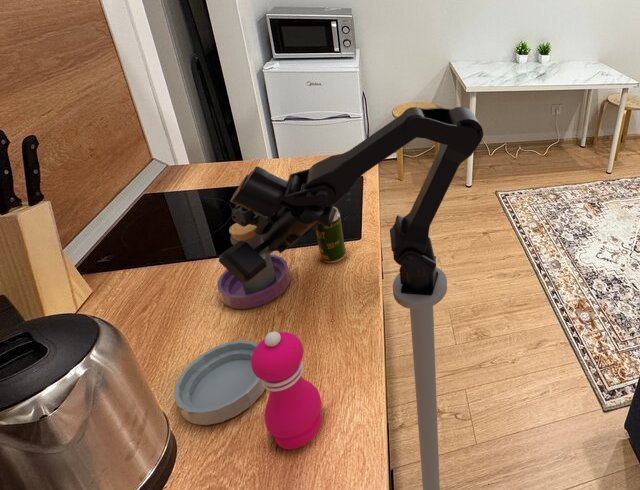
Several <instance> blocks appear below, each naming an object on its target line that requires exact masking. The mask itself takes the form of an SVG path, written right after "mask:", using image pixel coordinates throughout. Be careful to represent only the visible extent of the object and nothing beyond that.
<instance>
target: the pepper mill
mask: <svg viewBox="0 0 640 490" xmlns="http://www.w3.org/2000/svg"><path fill="white" fill-rule="evenodd" d="M304 352H305V351H304V345H303V342H302V341H301V340H300V338H299V336H297V335H296V334H294V333H292V332H288V331H279V332H278V331H271V332H268V333H267V334H266V336H265V337H264V338H263V339H262V340H261V341H259V342H258V345H257V346H256V348H255V349H254V351H253V354H252V358H251V367H252V370H253V372H254V374H255V375H256V377H258V378H260V379H261V381H262V385H263V387H264V388H265V390H267V391H268V392H269V396H268V399H267V401H266V404H265V408H264V415H263V417H264V424H265V428H266V430H267V431H268V432H269V434H271V436H273V438H274V440H275V442H276V444H277V446H279V447H280V448H281V449H284V450H287V451H288V450H297V449H299V448H302V447H304V446H305V445H307V444H308V443H309V442H311V441H312V440H313V439H314V438H315V436H316V435H317V434H318V433H319V431H320V428H321V427H322V412H321V408H322V397H321V394H320V392H319V390H318V389H317V387H316V386H315V385H314V384H313V383H312V382H311V381H308V380H307V379H305V378H304V377H303V376H302V374H303V372H304V363H303V358H304Z"/></svg>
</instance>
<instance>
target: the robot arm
mask: <svg viewBox="0 0 640 490" xmlns="http://www.w3.org/2000/svg"><path fill="white" fill-rule="evenodd" d="M418 138H419V139H427V140H429V141H431V142H435V143H439V144H438V151H437V153H436V155H435V158H434V160H433V162H432V164H431V166H430V168H429V171H428V173H427V174H426V176H425V179H424V182H422V185H421V188H420V190H419V192H418V194H417V197H416V199H415V201H414V203H413V205H412V207H411V209H410V211H409V213H408V214H406V215H405V216H401V215H396V217H395V221H394V224H393V225H392V227H391V228H390V229H389V236H390V247H391V252H392V255H393V260H394V262H395V263H396V264H397V265H398V266H400V267H399V273H400V282H401V284H403V285H402V288H401V293H405V294H417V295H429V296H431V295H432V294H433V292H434V288H435V285H436V281H437V278H438V272H436V267H437V256H436V255H435V253H434V252H435V251H434V248H433V244H432V240H431V239H432V238H431V237H430V236H429V234H430V228H431V227H430V226H431V225H432V223H433V220H434V219H435V217H436V214H437V212H438V210H439V208H440V206H441V204H442V202H443V200H444V198H445V196H446V195H447V191H448V190H449V188H450V185H451V184H452V181H453V180H454V177H455V175H456V173H457V171H458V169H459V167H460V165H461V164H462V163H463V162H465V161H466V160H467V159H469V158H470V157H471V156H472V155H473V154H474V152H475V151H476V149H477V148H479V146H480V144H481V142H482V141H483V138H484V130H483V127H482V125H481V123H480V122H479V120H478V119H477V117H476V115H475V113H473V111H472V110H471V109H470V108H468V107H465V106H457V107H454V108H447V107H428V108H427V107H426V108H423V107H417V106H412V107H409V108H405V110H404V111H403V112H402V114H400V115H399V116H397V117H396V118H394V119H393V120H391V121H390V122H389V123H387V124H385V125H384V126H383V127H381V128H380V129H378V130H377V131H375V132H374V133H372V134H371V135H370V136H367V138H365V139H364V140H362V141H361V142H359V143H358V144H357V145H355V146H354V147H352V148H351V149H349V150H347V151H345V152H343V153H339V154H335V155H330V156H328V157H326V158H324V159H322V160H320V161H318V162H315V163H313V165H311V166H310V167H309V168H307V169H303V170H300V171H297V172H293V173H291V174H289V176H288V179H287V180H285V179H283V178H281V177H280V176H277V175H275V174H273V173H271V172H270V171H269V172H268V171H267V170H266V169H265V168H263V167H260V166H255V167H254V168H253V170H251V171H250V172H249V173H248V174H246V175H245V176H244V177H243V179H242V181H241V182H240V184H239V185H238V187H237V188H236V190H235V191H234V193H233V195H232V197H231V199H230V201H229V202H230V203H231V204H234V205H235V207H234V208H232V209H231V212H232V213H231V220H232V221H233V222H235V223H238V224H239V225H241V226H242V227H245V226H247V225H249V224H251V225H254V226H257V228H256V229H255V230H254V232H255V233H256V234H257V235H262V239H263V241H264V242H263V243H262V244H261V245H259V246H258V247H257V248H255V249H253V248H252V247H251V246H250V245H249V244H248V243H247V242H245V241H241V240H240V241H239V242H238V243H236V244H235V245H233V244H232V245H231V246H230V247H229V248H228V249H226V250H225V251H222V253H221V254H220V255H219V256H218V262H219V264H221V265H222V266H223V267H224V268H225V270H226V269H227V270H228V271H229V272H230V273H231V274H232V275H233V276H235V277H236V278H237V279H238V280H239V281H240V282H241V283H247V282H248V281H250V280H251V279H252V278H253V277H255V276H256V275H257V274H258V273H259V272H261V271H262V270H263V269H264V268H265V267H267V265H266V261H265V260H264V258H266V257H267V256H268V255H269V254H270V255H272V254H273V252H275V251H277V252H278V253H279V254H282V253H283V252H284V251H286V250H287V249H288V248H289V247H290V246H292V245H293V244H294V243H296V242H297V241H298V240H299V239H300V238H302V237H304V236H305V237H306V235H307V234H308V233H310V232H312V231H313V230H315V227H316V226H318V225H319V224H322V225H324V226H327V227H331V225H332V222H333V219H334V216H335V213H336V210H335V208H334V207H335V206H334V205H336V204H337V203H339V202H340V200H342V199H343V198H344V197H345V196H346V195H347V194H348V193H349V192H350V191H351V190H352V188H353V187H354V185H356V183H357V181H358V180H359V179H360V178H361V177H362V176H363V175H364V174H366V173H367V172H368V171H370V170H371V169H373V168H374V167H376V166H377V165H379V164H380V163H382V162H383V161H384V160H386V159H387V158H389V157H390V156H392V155H394V154H396V152H398V151H399V150H401V149H402V148H403V147H405V146H406V145H408V144H409V143H411V142H412V141H414V140H415V139H418ZM303 185H304V189H302V188H303ZM267 247H268V249H266V248H267ZM264 249H266V250H265V252H263V253H261V254H260V255H259V253H260V252H262V251H263V250H264Z"/></svg>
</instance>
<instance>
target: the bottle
mask: <svg viewBox="0 0 640 490" xmlns="http://www.w3.org/2000/svg"><path fill="white" fill-rule="evenodd" d="M256 228H257V226H254V225H251V224H249V225H247V226H245V227H242V226H241V225H239V224H238V223H236V222H235V223H234V224H232V225H230V227H229V228H228V232H229V234H230V243H231V245H232V246H233V245H235V244H236V243H238V242H239V241H240V240H241V241H245V242H247V243H248V244H249V245H250V246H251V247H252V248H253V249H255V248H257V247H258V246H259V245H261V244H262V243H263V242H264V241H263V239H262V235H257V234H256V233H255V232H254V230H255V229H256ZM268 248H269V246H268V247H267V248H266V249H268ZM266 249H264V250H263V251H262V252H260V253H259V255H260V254H261V253H263V252H265V250H266ZM270 255H271V254H269V255H268V256H267V257H266V258H264V260H265V261H266V265H267V267H265V268H264V269H263V270H262V271H261V272H259V273H258V274H257V275H256V276H255V277H253V278H252V279H251V280H250V281H248V282H247V283H242V286H243V289H244V291H245V293H246V294H253V293H256V292H259V291H262V290H264V289H266V288H268V287H269V286H271V285H272V284H274V283H275V282H276V281H277V280H276V275H275V271H274V268H273V264H272V260H271V256H270Z"/></svg>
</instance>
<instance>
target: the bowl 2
mask: <svg viewBox="0 0 640 490" xmlns="http://www.w3.org/2000/svg"><path fill="white" fill-rule="evenodd" d="M258 344H259V342H256V341H254V340H248V339H247V340H246V339H245V340H244V339H240V340H233V341H227V342H225V343H222V344H219V345H217V346H214V347H212V348H211V349H209V350H207V351H205V352H203V353H202V354H200V355H199V356H197V357H196V358H195V359H194V360H193V361H191V362H190V363H189V364H188V365H187V366H186V368H185V369H184V370H183V371H182V372H181V373H180V374H179V377H178V379H177V381H176V382H175V385H174V388H173V389H174V391H173V400H174V402H175V404H176V406H177V408H178V409H179V412H180V414H181V416H182V418H183V419H184V420H185V421H187V422H189V423H191V424H193V425H203V426H209V425H214V424H220V423H223V422H225V421H228V420H231V419H232V418H234V417H236V416H239V415H240V414H241V413H243V412H244V411H246V410H248V408H250V407H251V406H252V405H254V404H255V402H256V401H257V400H258V399H259V398H260V397H261V396H262V395H263V394H264V392H265V390H266V389H265V388H264V387H263V385H262V381H261V379H260V378H258V377H256V375H255V374H254V372H253V370H252V367H251V358H252V354H253V351H254V349H255V348H256V346H257V345H258Z"/></svg>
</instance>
